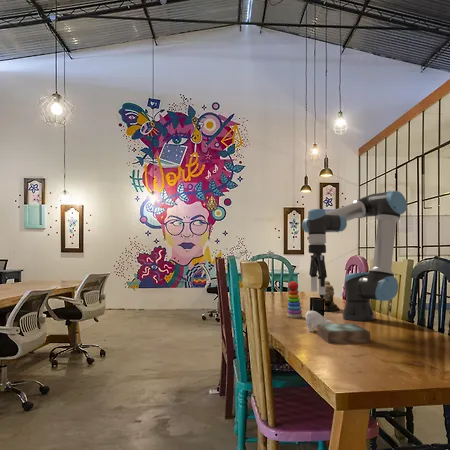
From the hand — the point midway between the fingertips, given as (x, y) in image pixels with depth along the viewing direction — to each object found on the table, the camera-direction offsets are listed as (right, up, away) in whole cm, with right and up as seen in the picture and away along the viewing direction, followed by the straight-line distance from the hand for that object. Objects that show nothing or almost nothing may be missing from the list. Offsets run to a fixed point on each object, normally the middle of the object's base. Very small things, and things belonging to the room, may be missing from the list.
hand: (317, 293), depth 180 cm
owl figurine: (+20, -20, +61) cm, 68 cm away
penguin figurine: (0, -16, -1) cm, 17 cm away
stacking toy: (-4, -19, +37) cm, 41 cm away
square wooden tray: (+6, -15, -17) cm, 23 cm away
